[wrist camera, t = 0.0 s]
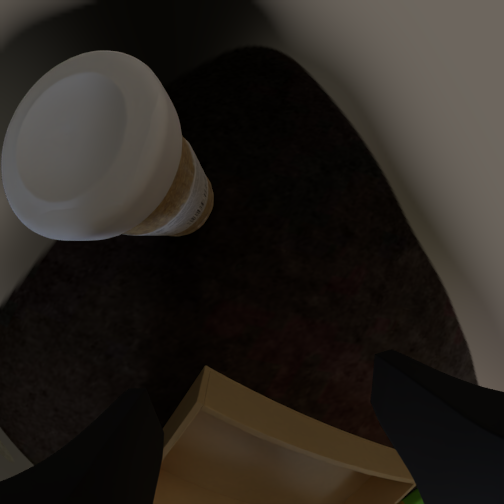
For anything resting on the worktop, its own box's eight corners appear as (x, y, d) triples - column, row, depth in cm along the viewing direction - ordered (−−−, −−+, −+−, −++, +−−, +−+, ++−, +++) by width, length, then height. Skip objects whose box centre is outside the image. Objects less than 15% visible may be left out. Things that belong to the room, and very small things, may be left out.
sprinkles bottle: (171, 151, 18) (73, 24, 5) (229, 191, 19) (214, 91, 5) (130, 211, 18) (-28, 177, 5) (187, 252, 19) (82, 287, 5)
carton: (320, 521, 21) (331, 555, 16) (141, 458, 19) (126, 497, 14) (395, 449, 20) (420, 481, 16) (205, 364, 19) (196, 401, 14)
